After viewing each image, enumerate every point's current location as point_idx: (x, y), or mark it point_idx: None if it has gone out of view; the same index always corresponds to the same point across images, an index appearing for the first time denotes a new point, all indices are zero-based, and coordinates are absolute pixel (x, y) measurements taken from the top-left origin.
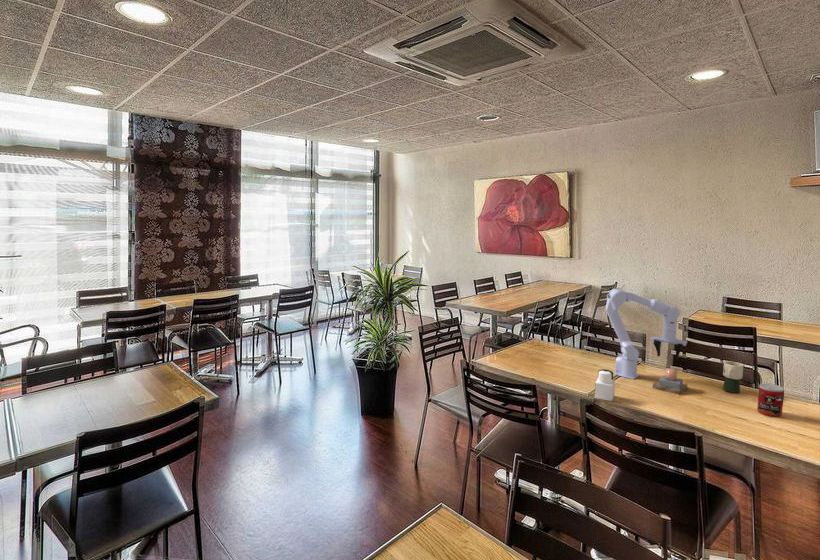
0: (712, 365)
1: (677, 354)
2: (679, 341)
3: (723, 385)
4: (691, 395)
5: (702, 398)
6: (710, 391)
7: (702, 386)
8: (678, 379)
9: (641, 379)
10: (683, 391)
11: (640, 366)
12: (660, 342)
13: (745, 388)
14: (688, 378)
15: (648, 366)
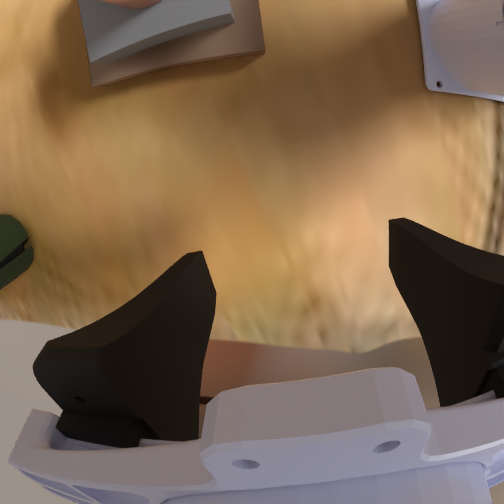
0: None
1: (155, 283)
2: (55, 475)
3: (16, 241)
4: (53, 12)
5: (15, 30)
6: (34, 159)
7: (86, 201)
8: (107, 25)
9: (383, 19)
10: None
11: None
12: (460, 401)
13: (28, 312)
14: None
15: None
